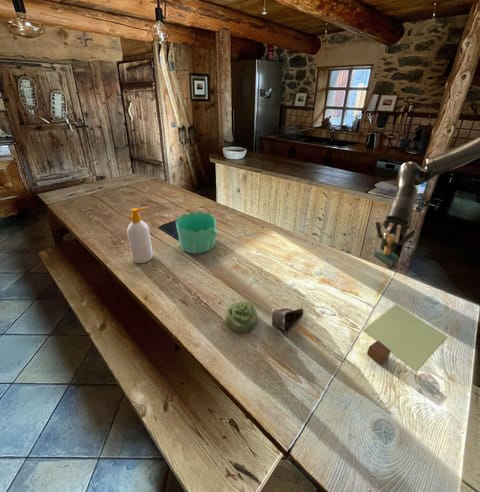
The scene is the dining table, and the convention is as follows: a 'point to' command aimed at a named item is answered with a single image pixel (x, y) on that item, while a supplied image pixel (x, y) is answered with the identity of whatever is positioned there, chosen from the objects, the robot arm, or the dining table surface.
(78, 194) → the dining table surface
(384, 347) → the brown cube
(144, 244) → the soap bottle
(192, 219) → the basket
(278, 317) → the dark flower pot
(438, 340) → the mat
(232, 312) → the decorative artifact
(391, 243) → the brush
